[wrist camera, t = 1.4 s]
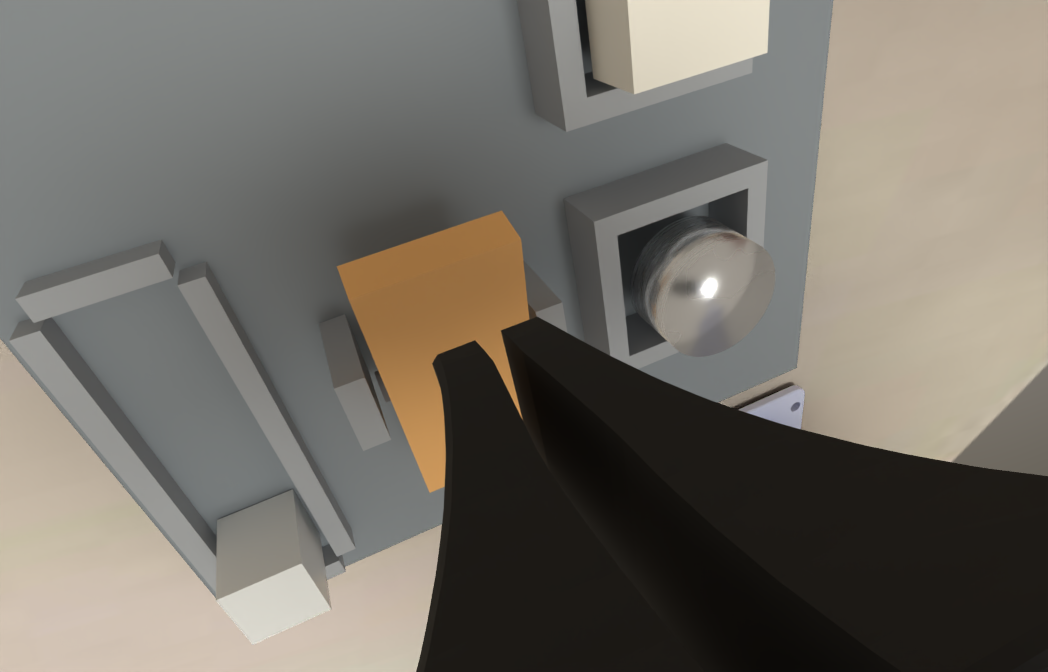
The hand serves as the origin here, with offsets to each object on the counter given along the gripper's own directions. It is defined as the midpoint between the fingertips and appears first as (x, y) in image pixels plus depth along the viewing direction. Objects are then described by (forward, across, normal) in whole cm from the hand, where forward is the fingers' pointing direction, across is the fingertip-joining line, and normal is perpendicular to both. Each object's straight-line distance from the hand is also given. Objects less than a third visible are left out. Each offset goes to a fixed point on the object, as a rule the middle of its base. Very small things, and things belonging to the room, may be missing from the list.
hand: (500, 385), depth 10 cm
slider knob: (+7, +6, +8) cm, 13 cm away
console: (+9, -2, +2) cm, 10 cm away
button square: (+6, -7, -4) cm, 10 cm away
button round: (+6, -7, +3) cm, 10 cm away
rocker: (+5, 0, +3) cm, 6 cm away
